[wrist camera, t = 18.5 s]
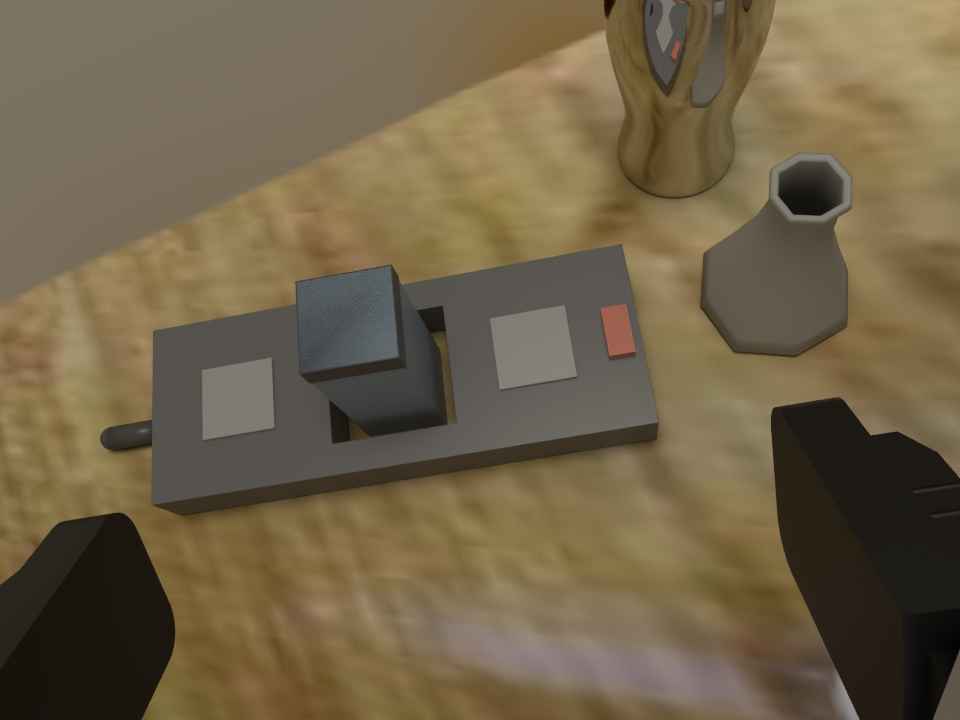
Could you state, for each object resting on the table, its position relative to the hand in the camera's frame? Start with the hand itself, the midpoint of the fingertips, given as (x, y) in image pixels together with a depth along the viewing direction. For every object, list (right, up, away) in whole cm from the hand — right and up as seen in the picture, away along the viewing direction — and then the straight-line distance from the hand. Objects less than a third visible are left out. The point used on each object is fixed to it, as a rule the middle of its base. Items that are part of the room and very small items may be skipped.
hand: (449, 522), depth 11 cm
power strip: (-6, 0, +34) cm, 34 cm away
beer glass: (+11, +13, +36) cm, 40 cm away
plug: (-3, 0, +34) cm, 34 cm away
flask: (+15, +5, +33) cm, 36 cm away
